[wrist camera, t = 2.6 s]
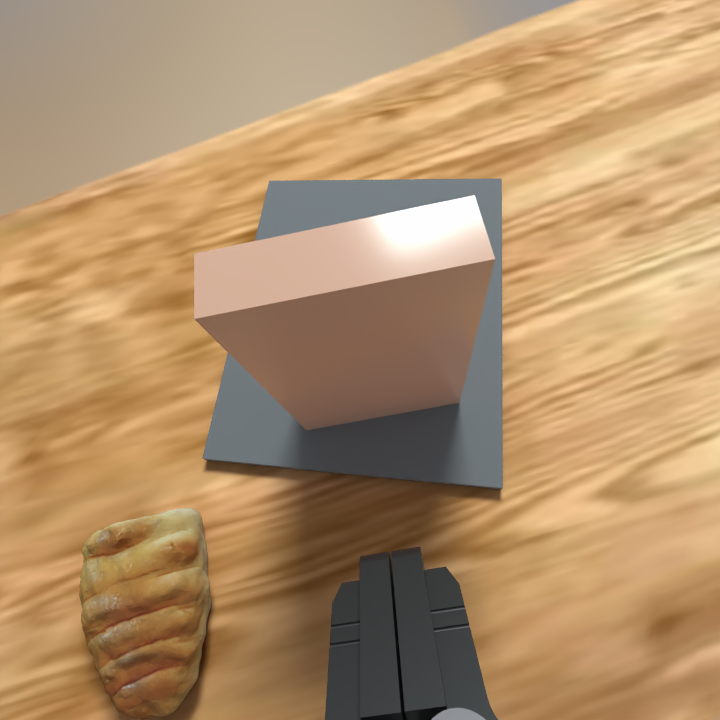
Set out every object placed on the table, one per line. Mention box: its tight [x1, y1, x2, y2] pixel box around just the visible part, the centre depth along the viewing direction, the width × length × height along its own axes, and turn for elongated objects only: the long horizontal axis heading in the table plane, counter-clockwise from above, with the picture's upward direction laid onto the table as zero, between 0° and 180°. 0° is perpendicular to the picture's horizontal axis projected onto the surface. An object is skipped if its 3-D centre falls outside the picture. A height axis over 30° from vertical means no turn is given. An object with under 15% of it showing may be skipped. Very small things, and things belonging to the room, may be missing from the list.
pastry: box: [79, 508, 212, 719], centre depth 23 cm, size 9×7×4 cm
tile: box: [194, 195, 495, 430], centre depth 20 cm, size 2×9×14 cm, turn 99°
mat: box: [202, 179, 503, 489], centre depth 29 cm, size 17×21×1 cm
